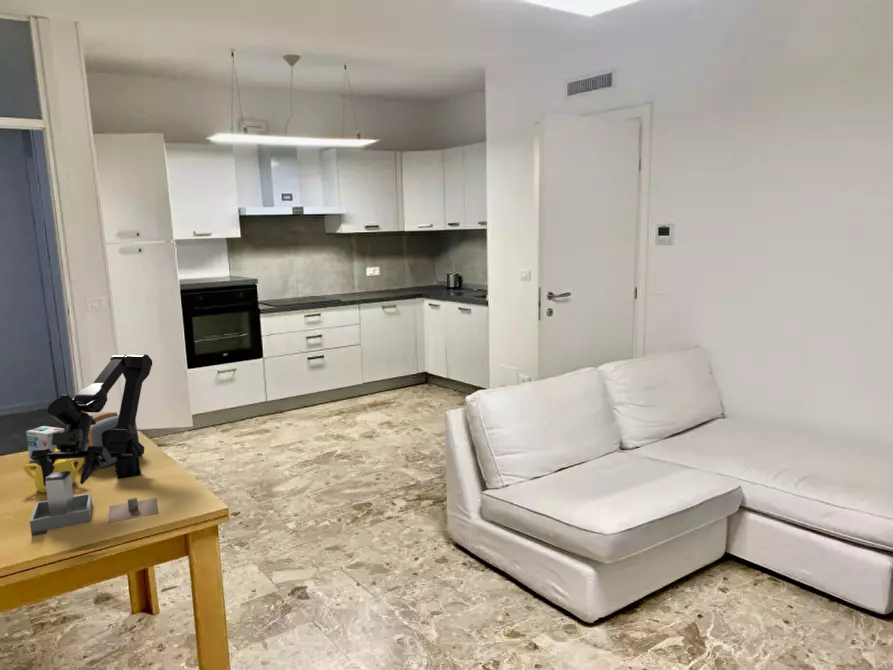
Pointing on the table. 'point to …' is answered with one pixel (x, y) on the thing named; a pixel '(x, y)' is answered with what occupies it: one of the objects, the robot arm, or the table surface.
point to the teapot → (59, 467)
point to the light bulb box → (41, 438)
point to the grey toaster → (102, 432)
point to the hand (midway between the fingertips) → (63, 484)
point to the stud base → (126, 515)
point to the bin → (44, 522)
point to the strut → (60, 493)
